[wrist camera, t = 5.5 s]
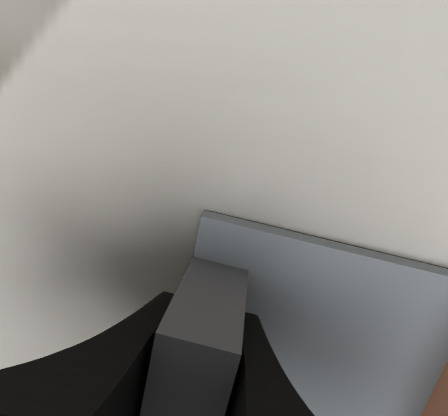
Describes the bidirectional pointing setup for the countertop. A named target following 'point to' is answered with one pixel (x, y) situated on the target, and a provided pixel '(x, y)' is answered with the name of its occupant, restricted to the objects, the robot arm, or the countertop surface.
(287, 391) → the robot arm
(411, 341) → the slate strip
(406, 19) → the countertop surface
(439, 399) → the terracotta block
